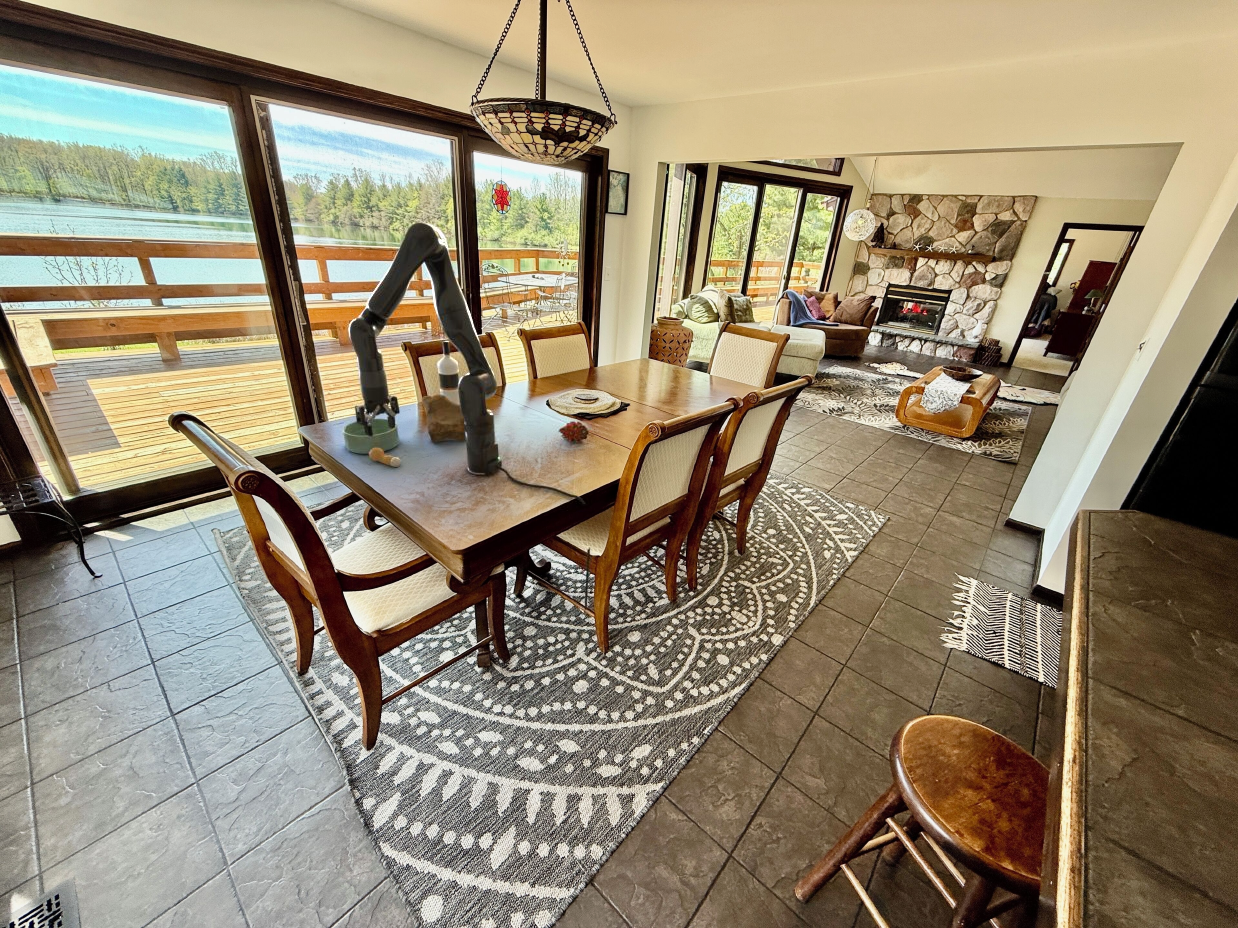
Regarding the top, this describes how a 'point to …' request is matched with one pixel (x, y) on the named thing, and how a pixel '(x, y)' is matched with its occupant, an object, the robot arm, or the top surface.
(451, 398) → the vodka
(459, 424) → the rough brown rock
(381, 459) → the drumstick
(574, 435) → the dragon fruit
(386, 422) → the green pet bowl
